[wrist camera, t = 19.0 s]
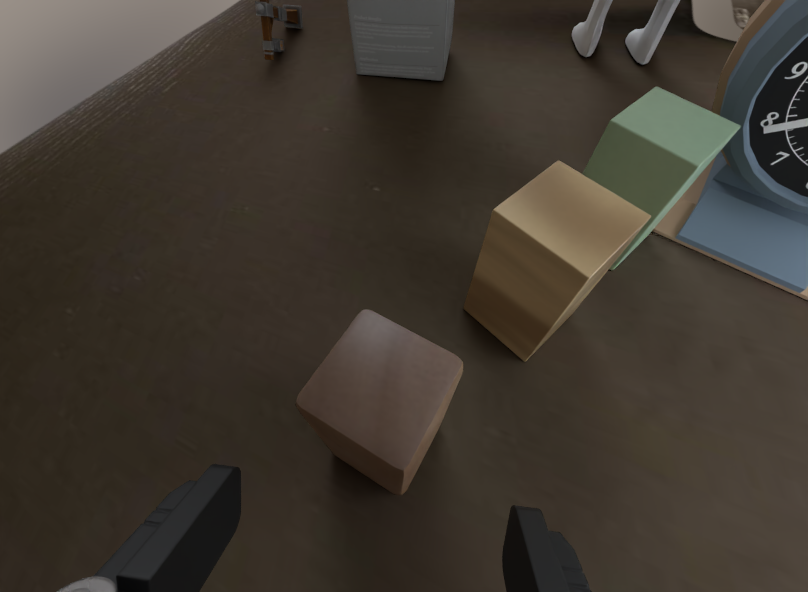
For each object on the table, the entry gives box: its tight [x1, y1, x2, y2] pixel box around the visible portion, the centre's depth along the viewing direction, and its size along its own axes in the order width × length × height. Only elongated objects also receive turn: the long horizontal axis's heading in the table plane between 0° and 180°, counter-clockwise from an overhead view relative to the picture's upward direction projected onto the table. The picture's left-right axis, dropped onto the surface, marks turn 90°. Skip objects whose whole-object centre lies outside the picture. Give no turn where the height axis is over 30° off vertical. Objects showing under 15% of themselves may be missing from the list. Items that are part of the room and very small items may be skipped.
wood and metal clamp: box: [255, 0, 303, 60], centre depth 36 cm, size 2×8×4 cm, turn 172°
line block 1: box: [463, 160, 651, 362], centre depth 19 cm, size 4×4×8 cm
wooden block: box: [295, 309, 463, 495], centre depth 15 cm, size 4×4×8 cm
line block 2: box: [582, 87, 741, 271], centre depth 22 cm, size 4×4×8 cm
